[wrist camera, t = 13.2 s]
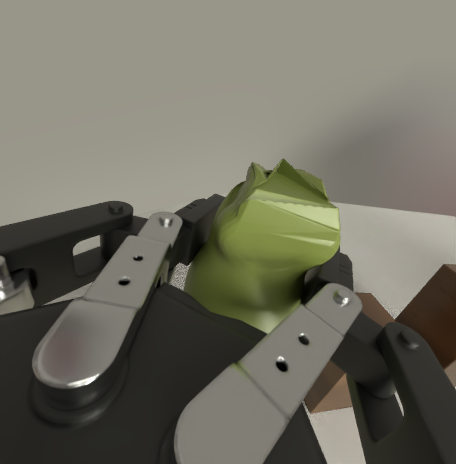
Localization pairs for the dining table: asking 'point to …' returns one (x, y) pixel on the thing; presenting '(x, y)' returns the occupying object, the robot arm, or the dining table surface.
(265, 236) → the olive green lumpy piece
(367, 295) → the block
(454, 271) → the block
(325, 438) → the dining table surface
